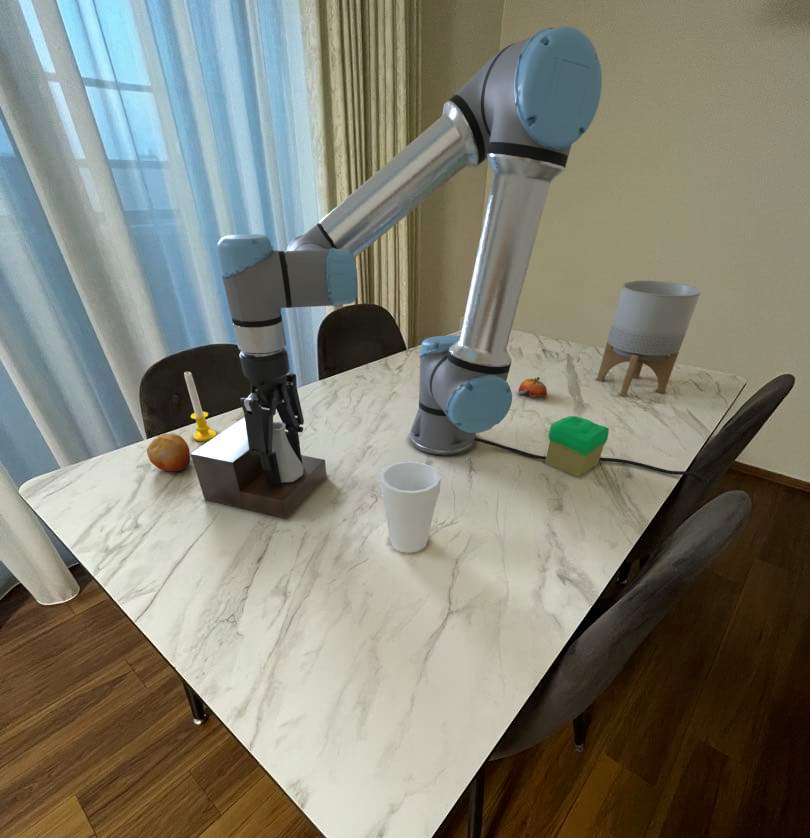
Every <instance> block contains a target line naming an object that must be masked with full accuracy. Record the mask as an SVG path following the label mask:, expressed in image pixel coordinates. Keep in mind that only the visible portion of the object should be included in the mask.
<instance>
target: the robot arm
mask: <svg viewBox="0 0 810 838" xmlns="http://www.w3.org/2000/svg"><path fill="white" fill-rule="evenodd" d="M602 73H603V72H602V66H601V61H600V59H599V57H598V54H597V50H596V47H595V45H594V44H593V42H592V40H591V39H590V38H589V36H588V35H586V34H585V33H584V32H583V31H581V30H580V29H578V28H576V27H572V26H557V27H547V28H543V29H541V30H539V31H538V32H536V33H535V34H533V35H532V36H529V37H527V38H525V39H522V40H521V41H518V42H514V43H512V44H509V45H507V46H504V47H503V48H502V49H501V50H499V51H498V52H496V54H494V55H493V56H492V57H491V58H490V59H489V60H488V61H487V62H486V63H485V64H484V65H483V66H482V67H481V68H480V69H479V70H478V71H477V72H476V73H475V74H474V75H473V76H472V77H471V78H470V79H469V80H468V81H467V82H466V83H465V84H464V85H463V86H462V87H461V88H460V89H459V90H458V91H457V92H456V93H455V94H454V95H453V96H451V97H450V98H449V99H448V100H447V101H446V102H444V104H443V108H442V114H441V116H440V117H439V118H438V119H437V120H435V122H433V123H432V124H431V125H430V126H429V127H427V128H426V129H425V130H424V131H422V132H421V133H420V134H419V135H418V136H417V137H415V139H414V140H412V141H411V142H410V143H409V144H408V145H406V146H405V147H404V148H403V149H401V151H400V152H399V153H397V154H396V155H395V156H394V157H392V158H391V159H390V160H389V161H388V162H387V163H386V164H385V165H383V166H382V167H381V168H380V169H378V170H377V171H376V172H375V173H374V174H373V175H371V176H370V177H369V178H368V179H367V180H366V181H365V182H363V183H362V184H361V185H360V186H359V187H358V188H356V189H355V190H354V191H353V192H351V194H350V195H348V196H347V197H346V198H344V200H342V201H341V202H340V203H339V204H338V205H337V206H335V207H334V208H333V209H332V210H331V211H329V213H327V214H326V215H325V216H324V217H323V218H321V219H320V221H318V223H316V224H315V225H314V226H312V227H311V228H310V229H309V230H308V231H306V233H304V234H301V235H298V236H296V237H295V238H293V239H292V240H291V241H290V243H289V244H288V246H287V248H286V250H275V249H274V248H273V246H272V243H271V239H270V237H268V236H267V235H265V234H259V233H258V234H257V233H254V234H253V233H240V234H239V233H238V234H229V235H225V236H223V237H221V238H220V239H219V241H218V242H217V246H216V247H217V254H218V260H219V266H220V271H221V278H222V283H223V287H224V291H225V296H226V300H227V305H228V309H229V313H230V317H231V322H232V326H233V330H234V333H235V341H236V344H237V345H236V346H237V348H238V350H239V351H240V353H239V354H238V355H239V360H240V365H241V371H242V374H243V375H244V377H245V378H246V379H247V380H248V381H249V382H250V389H249V392H250V394H249V395H248V396H247V397H241V398H240V400H239V403H240V407H241V408H242V411H243V417H244V418H245V423H246V430H247V438H248V445H249V452H250V454H251V455H256V456H260V460H261V463H262V469H263V470H264V473H265V478H266V482H267V483H269V484H274V485H280V484H281V478H280V473H279V468H278V463H277V457H276V452H272V439H273V422H274V416H275V415H276V413H277V414H278V416H279V418H280V420H281V422H282V423H285V424H286V427H285V433H286V436H287V439H288V442H289V444H290V445H291V447H292V449H293V451H294V452H295V454H296V456H297V457H298V459H299V460H300V462H301V463H302V457H301V455H302V452H301V444H300V443H301V442H300V436H299V435H300V434H301V433H303V432H304V427H303V425H304V423H305V420H304V415H303V414H304V413H303V411H302V404H301V401H300V397H299V392H298V387H297V385H298V384H297V374H295V373H291V372H290V370H291V368H290V362H289V356H288V350H287V349H286V348H285V347H286V346H287V339H286V333H285V329H284V322H283V317H282V309H291V308H311V307H330V306H332V307H338V306H342V305H351V304H353V303H354V302H355V301H356V300H357V297H358V290H359V289H358V271H357V265H356V258H357V257H358V256H359V255H361V254H362V253H363V252H364V251H366V250H367V249H368V248H369V247H370V246H371V245H373V244H374V243H375V242H376V241H378V240H379V239H380V238H381V237H383V236H384V235H385V234H386V233H387V232H388V231H390V230H391V229H392V228H393V227H395V226H396V225H397V224H398V223H399V222H400V221H402V220H403V219H404V218H405V217H407V216H408V215H409V214H410V213H411V212H413V211H414V210H415V209H416V208H418V207H419V206H420V205H421V204H422V203H424V202H425V201H426V200H427V199H429V197H431V196H432V195H433V194H435V192H437V191H438V190H439V189H441V188H442V187H443V186H444V185H446V184H447V183H448V182H449V181H451V179H453V178H454V177H455V176H457V174H458V173H461V171H462V170H464V169H465V168H468V169H471V170H473V169H476V168H477V167H478V166H479V165H481V164H482V163H483V162H484V161H488V164H489V166H490V167H491V169H492V174H493V175H492V178H491V184H490V188H489V194H488V198H487V203H486V209H485V213H484V218H483V223H482V228H481V232H480V238H479V242H478V247H477V253H476V259H475V262H474V267H473V271H472V276H471V281H470V286H469V292H468V296H467V301H466V306H465V310H464V315H463V321H462V326H461V331H460V335H455V334H454V335H453V334H452V335H448V334H447V335H436V336H430V337H427V338H425V339H424V340H423V341H422V342H421V344H420V353H419V387H418V390H419V391H418V394H419V395H418V397H419V398H418V409H417V411H416V414H415V417H414V420H413V423H412V425H411V427H410V431H409V432H410V434H409V435H410V436H409V441H410V443H411V445H412V446H413V447H414V448H415V449H417V450H418V451H420V452H423V453H425V454H430V455H433V456H443V457H445V456H446V457H448V456H449V457H450V456H458V455H461V454H465V453H467V452H468V451H470V450H472V449H473V448H474V446H475V444H476V442H478V443H482V444H486V445H489V446H493V447H496V448H499V449H502V450H506V451H510V452H512V453H516V454H519V455H521V456H525V457H528V458H533V459H538V460H543V461H545V460H546V455H539V454H534V453H531V452H527V451H524V450H521V449H517V448H515V447H510V446H507V445H503V444H500V443H498V442H494V441H490V440H487V439H484V438H479V437H477V434H478V433H483V432H487V431H489V430H491V429H493V427H495V426H497V425H499V424H500V423H501V422H502V421H503V420H504V419H505V418H506V416H507V415H508V413H509V411H510V409H511V406H512V403H513V392H512V388H511V385H509V382H508V381H507V380H508V376H509V373H510V369H511V365H512V362H513V361H512V357H511V356H510V354H509V352H508V350H507V349H508V343H509V341H510V336H511V333H512V329H513V325H514V321H515V317H516V314H517V310H518V306H519V302H520V299H521V295H522V291H523V287H524V283H525V280H526V276H527V272H528V269H529V265H530V261H531V257H532V254H533V249H534V246H535V243H536V238H537V234H538V231H539V227H540V223H541V219H542V215H543V212H544V208H545V204H546V200H547V197H548V193H549V189H550V186H551V184H552V182H553V181H555V180H556V179H557V178H558V177H559V176H561V174H563V173H564V172H565V171H566V167H567V163H568V159H569V156H570V152H571V149H572V145H573V144H574V143H576V142H577V141H578V140H580V138H582V136H583V134H585V133H586V132H587V131H588V129H589V127H590V126H591V124H592V122H594V121H593V120H594V118H595V116H596V113H597V111H598V109H599V105H600V101H601V97H602V96H601V95H602V87H603V77H602V76H603V75H602ZM299 433H300V434H299ZM265 447H266V448H265ZM599 462H611V463H621V464H626V465H631V466H636V467H639V468H644V469H647V470H651V471H654V472H659V473H662V474H667V475H674V476H676V475H677V476H690V477H694V478H696V479H697V480H698V481H699V482H700V483H704V484H705V483H706V481H705V479H704V478H703V477H702V476H701V474H698V473H697V472H693V471H687V470H670V469H666V468H665V469H664V468H661V467H658V466H657V467H656V466H654V465H650V464H645V463H643V462H639V461H634V460H628V459H622V458H615V457H601V456H600V459H599Z"/></svg>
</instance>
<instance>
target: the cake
mask: <svg viewBox="0 0 810 838" xmlns="http://www.w3.org/2000/svg"><path fill="white" fill-rule="evenodd" d="M609 431H610V428H609V427H607V426H604V425H600V424H598V423H595V422H593V421H591V420H590V419H587V418H584V417H580V416H578V415H570V416H569V415H568V416H566V417H564V418H561V419H558V420H557V421H555V422H553V423H552V424H551V425H550V427H549V433H548V441H549V442H548V446H547V452H546V455H545V457H546V460H544V464H546V465H548V466H551V467H554V468H556V469H559V470H561V471H563V472H566V473H567V474H570V475H572V476H575V477H577V478H580V477H581V476H583V475H584V474H585V473H587V472H589V471H590V470H591V469H593V468H594V467H595V466H597V465H598V464H599V463H600V461H599V459H600V457H601V456H602V452H603V449H604V446H605V444H606V443H607V441H608V437H609Z"/></svg>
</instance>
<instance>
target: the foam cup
mask: <svg viewBox="0 0 810 838" xmlns="http://www.w3.org/2000/svg"><path fill="white" fill-rule="evenodd" d="M440 475H441V474H440V472H439V471H438V470H437V469H436V468H435V467H433V466H432V465H430V464H428V463H424V462H421V461H411V460H409V461H408V460H406V461H399V462H394V463H391V464H390V465H387V466H385V467H384V468H383V469H382V471H381V472H380V473H379V484H380V487H379V488H380V494H381V496H382V501H383V507H384V511H385V518H386V525H387V527H388V528H387V529H388V534H389V540H390V545H391V546H392V547H393V548H394V549H395V550H396V551H398V552H401V553H407V554H412V553H417V552H420V551H422V550H423V549H425V548H426V545H428V540H429V536H430V531H431V528H432V523H433V519H434V514H435V508H436V504H437V500H438V495H439V493H440V492H441V491H440V490H441V476H440Z"/></svg>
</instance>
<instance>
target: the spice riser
mask: <svg viewBox="0 0 810 838" xmlns="http://www.w3.org/2000/svg"><path fill="white" fill-rule="evenodd" d="M265 448H266V447H265ZM301 457H302V465H303V467H304V470H303V475H302V476H301V477H299V478H298V479H296V480H295V481H294V482H282V483H281V484H280V485H274V484H269V483H267V482H266V478H265V473H264V470H263V469H262V463H261V460H260V456H256V455H251V454H250V452H249V445H248V438H247V430H246V423H245V417H243V418H241V419H240V420H238V421H236V422H235V423H234V424H232V425H231V426H229V427H228V428H226V429H225V430H223V431H222V432H220V433H219V434H217V436H216V437H215V438H213V439H212V440H209V441H206V443H204V444H203V445H201V446H199V447H198V448H197V449H195V450H194V451H192V452H191V453H190V459H191V460H192V461H191V462H192V463H193V464H192V465H193V467H194V470H195V474H196V476H197V480H198V482H199V486H200V490H201V493H202V496H203V499H204V501H208V502H212V503H215V504H216V503H217V504H220V505H224V506H229V507H232V508H236V509H241V510H245V511H249V512H254V513H256V514H262V515H266V516H270V517H274V518H279V519H282V520H288V518H290V516H292V515H293V513H295V511H296V510H297V509H298V508H299V507H300V506H301V505H302V504H303V503H304V501H305V500H306V499H307V498H308V497H309V496H310V495H311V494H312V493H313V492H314V491H315V490H316V489H317V488H318V487H319V485H321V483H322V482H323V481H324V480H325V479H326V478H327V476H328V475H327V467H326V459H323V458H318V457H313V456H308V455H303V454H301Z"/></svg>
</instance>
